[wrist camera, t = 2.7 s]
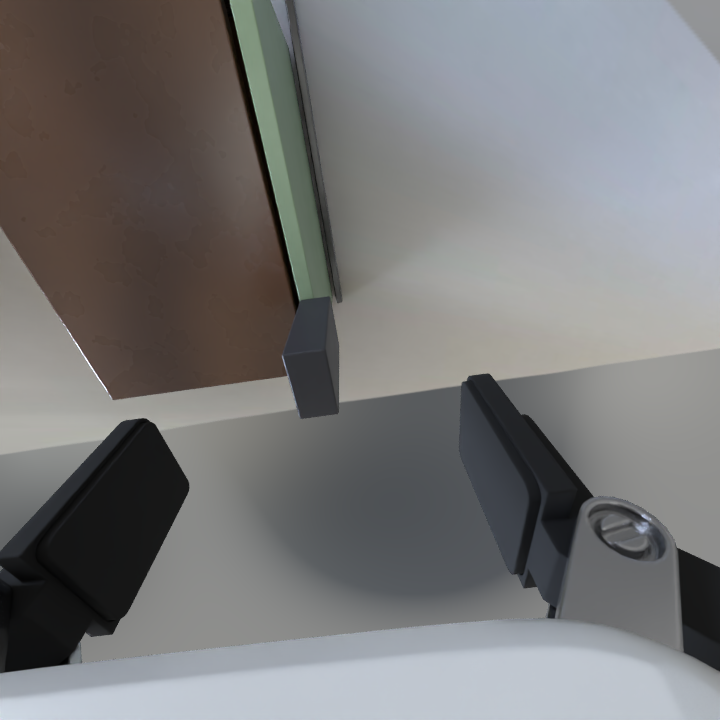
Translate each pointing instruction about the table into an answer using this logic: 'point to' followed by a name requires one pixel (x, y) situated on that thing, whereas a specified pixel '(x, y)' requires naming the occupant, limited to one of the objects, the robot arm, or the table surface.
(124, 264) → the cabinet
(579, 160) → the table surface
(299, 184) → the sliding door
